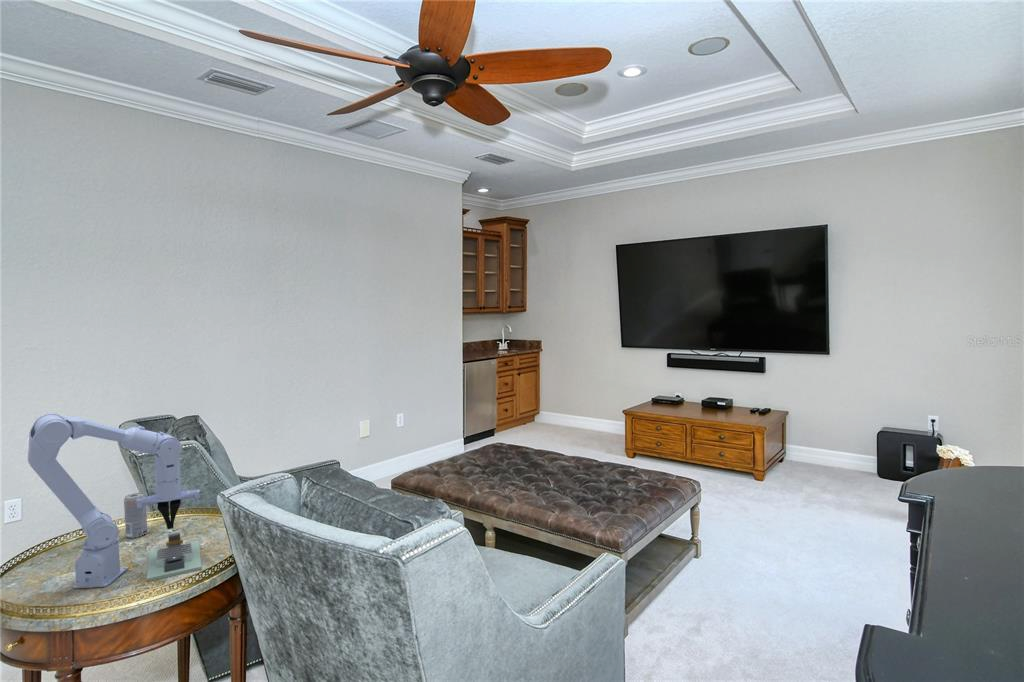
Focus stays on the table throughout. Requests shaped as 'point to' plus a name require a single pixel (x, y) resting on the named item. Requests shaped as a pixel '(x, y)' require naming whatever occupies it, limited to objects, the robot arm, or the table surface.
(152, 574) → the socket board
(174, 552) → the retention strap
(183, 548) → the heat sink
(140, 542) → the table surface
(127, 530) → the energy drink
